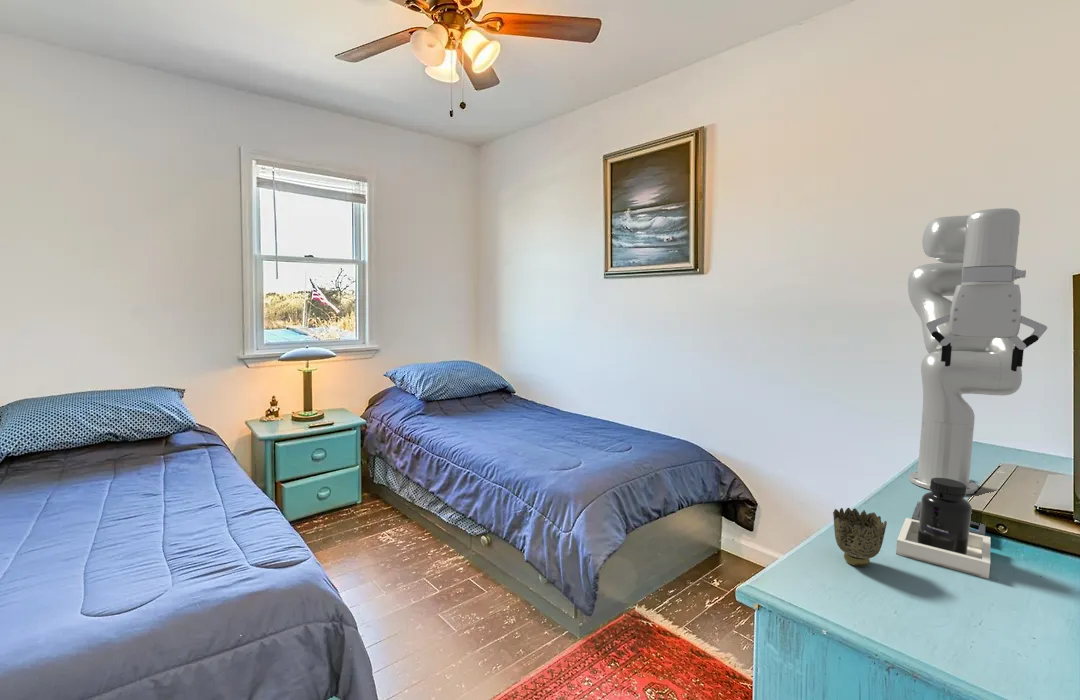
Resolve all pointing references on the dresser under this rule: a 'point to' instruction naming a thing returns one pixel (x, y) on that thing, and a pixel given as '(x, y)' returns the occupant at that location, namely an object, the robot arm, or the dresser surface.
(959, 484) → the supplement bottle
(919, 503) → the frame
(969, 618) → the dresser surface
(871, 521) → the olive rounded textured piece
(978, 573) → the white square tray
